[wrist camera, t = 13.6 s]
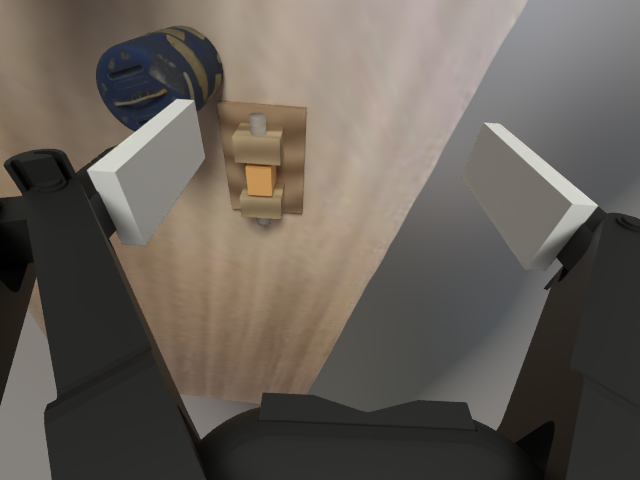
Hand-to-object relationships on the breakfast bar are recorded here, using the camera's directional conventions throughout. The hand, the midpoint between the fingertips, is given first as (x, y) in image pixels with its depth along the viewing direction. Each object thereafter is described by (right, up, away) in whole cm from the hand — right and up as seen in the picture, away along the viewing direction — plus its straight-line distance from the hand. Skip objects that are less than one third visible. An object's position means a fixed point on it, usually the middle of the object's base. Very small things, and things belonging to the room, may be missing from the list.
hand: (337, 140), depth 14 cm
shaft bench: (-11, +9, +40) cm, 43 cm away
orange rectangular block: (-11, +9, +40) cm, 42 cm away
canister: (-20, +22, +31) cm, 42 cm away
